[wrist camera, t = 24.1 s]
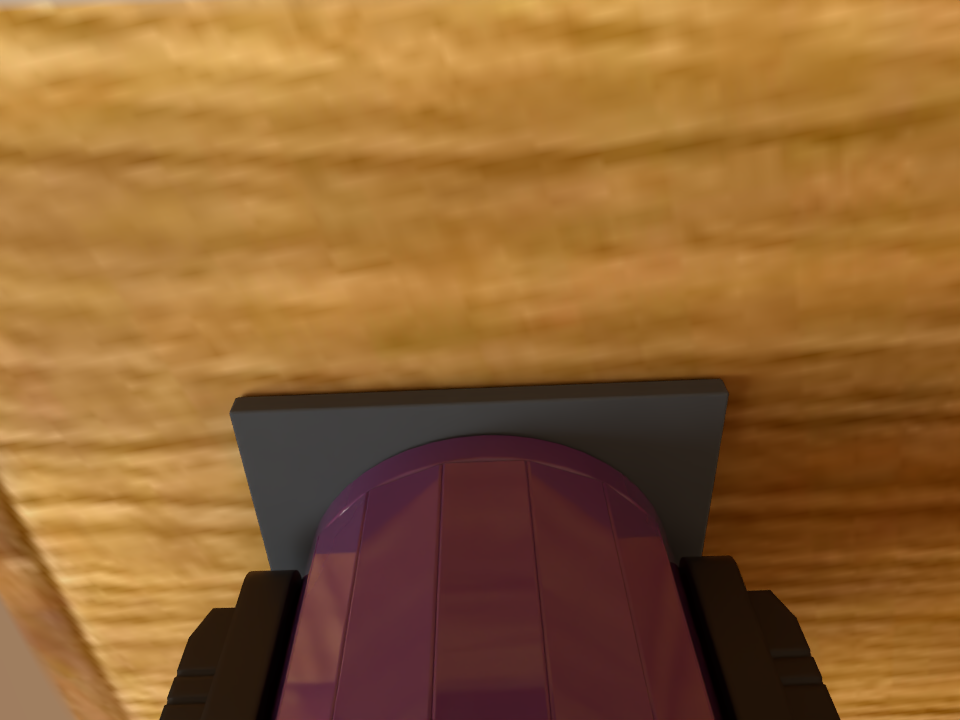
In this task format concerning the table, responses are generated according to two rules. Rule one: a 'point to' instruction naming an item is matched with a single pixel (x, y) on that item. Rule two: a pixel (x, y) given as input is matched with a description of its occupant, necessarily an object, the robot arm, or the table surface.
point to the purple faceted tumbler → (493, 595)
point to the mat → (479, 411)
